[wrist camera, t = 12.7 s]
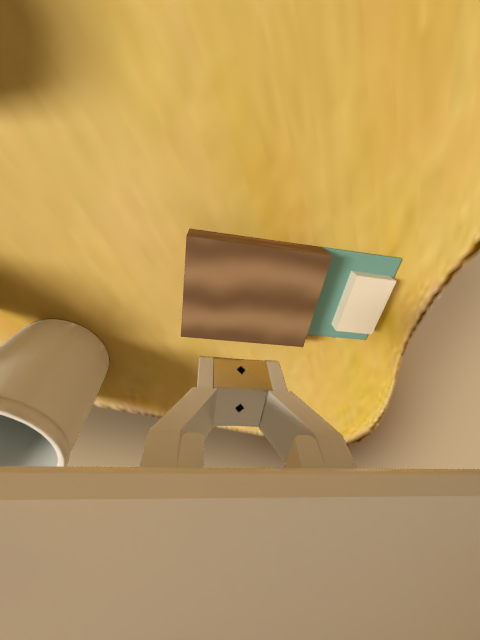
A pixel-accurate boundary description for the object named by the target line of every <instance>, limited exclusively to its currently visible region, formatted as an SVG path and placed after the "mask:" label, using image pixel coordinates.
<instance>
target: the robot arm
mask: <svg viewBox="0 0 480 640" xmlns="http://www.w3.org/2000/svg"><path fill="white" fill-rule="evenodd" d="M213 426H252V427H259V429H260V430H261V431H262V433H263V434H264V435H265V437H266V438H267V439H268V441H269V442H270V443H271V445H272V446H273V447H274V449H275V450H276V451H277V453H278V454H279V455H280V457H281V458H282V459H283V461H284V462H285V466H284V468H204V439H205V438H206V437H207V435H208V434H209V432H210V430H211V429H212V428H213ZM0 640H480V469H357V467H356V465H355V463H354V460H353V458H352V456H351V454H350V452H349V449H348V447H347V445H346V442H345V440H344V438H343V436H342V435H341V434H340V433H339V432H338V431H337V430H336V429H334V428H333V427H332V426H331V425H330V424H329V423H328V422H326V421H325V420H324V419H323V418H322V417H321V416H319V415H318V414H317V413H316V412H315V411H314V410H313V409H311V408H310V407H309V406H308V405H307V404H306V403H304V402H303V401H302V400H301V399H300V398H299V397H298V396H296V395H295V394H294V393H293V392H292V391H288V390H287V387H286V383H285V380H284V377H283V374H282V370H281V367H280V364H279V362H278V361H272V360H265V361H263V360H244V359H232V358H220V357H205V356H200V357H199V367H198V379H197V387H192V388H191V389H190V390H189V391H188V392H187V393H186V394H185V395H184V396H183V397H182V398H181V399H180V400H179V401H178V402H177V403H176V404H175V405H174V406H173V407H172V408H171V409H170V410H169V411H168V412H167V413H166V414H165V415H164V416H163V417H162V418H161V419H160V420H159V421H158V422H157V423H156V424H155V425H154V426H152V427H151V429H149V431H148V435H147V439H146V443H145V447H144V452H143V455H142V459H141V463H140V467H45V466H0Z"/></svg>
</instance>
